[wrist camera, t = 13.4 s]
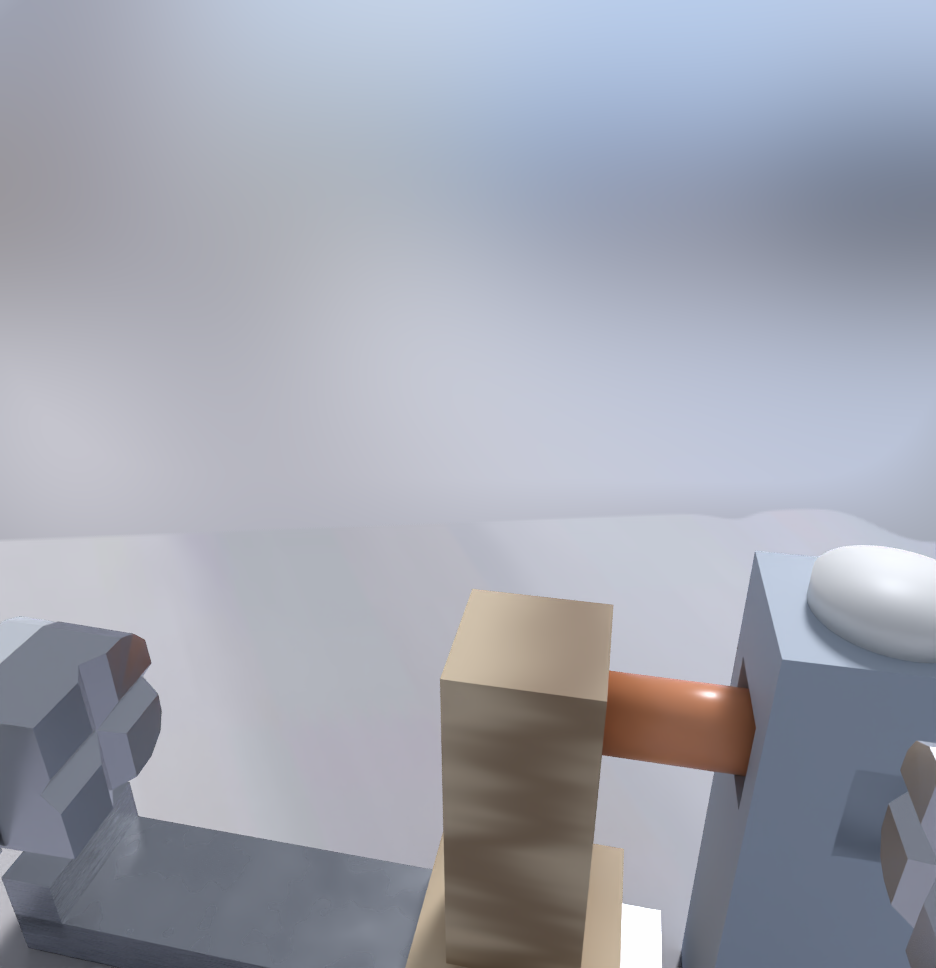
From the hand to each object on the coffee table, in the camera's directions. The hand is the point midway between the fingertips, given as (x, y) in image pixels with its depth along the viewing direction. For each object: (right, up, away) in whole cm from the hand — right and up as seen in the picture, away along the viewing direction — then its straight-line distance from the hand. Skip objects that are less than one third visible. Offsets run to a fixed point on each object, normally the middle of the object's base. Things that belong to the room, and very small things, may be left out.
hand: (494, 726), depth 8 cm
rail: (-5, -15, +22) cm, 27 cm away
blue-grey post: (+10, -17, +19) cm, 28 cm away
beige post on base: (+2, -14, +20) cm, 24 cm away
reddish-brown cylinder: (+6, -5, +15) cm, 17 cm away
